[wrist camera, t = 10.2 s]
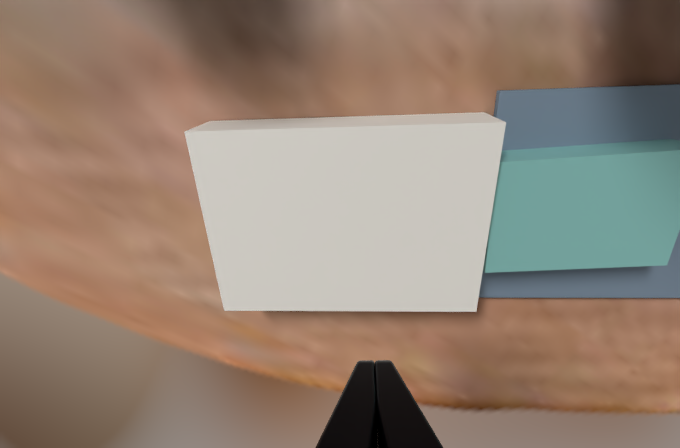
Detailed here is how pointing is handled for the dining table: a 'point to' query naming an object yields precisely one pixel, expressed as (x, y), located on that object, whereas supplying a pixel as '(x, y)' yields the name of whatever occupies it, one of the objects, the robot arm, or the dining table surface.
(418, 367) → the dining table surface
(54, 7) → the dining table surface
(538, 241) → the teal rectangular block
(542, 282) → the mat
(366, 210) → the block
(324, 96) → the dining table surface
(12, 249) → the dining table surface
